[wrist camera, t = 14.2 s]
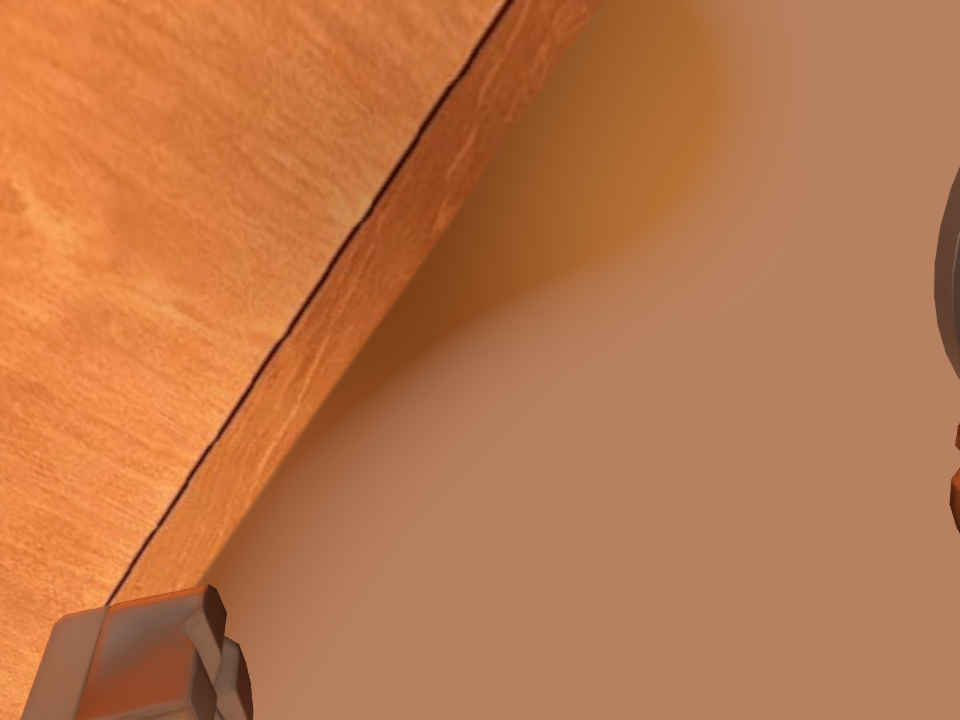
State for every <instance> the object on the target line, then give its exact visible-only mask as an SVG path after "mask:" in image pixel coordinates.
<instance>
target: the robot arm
mask: <svg viewBox="0 0 960 720" xmlns="http://www.w3.org/2000/svg"><path fill="white" fill-rule="evenodd" d="M955 445H956V447H957V448H958V449H959V451H960V424H959V425H958V430H957V437H956V444H955ZM950 506H951V510H952V514H953V517H954V520H955V524H956V527H957V529H958V531H959V533H960V468H959V470H958V471H957V472H956V474H955V475H954V476H953V477H952V479H951V492H950ZM226 615H227V612H226V610H225V608H224V605H223V604H222V601H221V598H220V596H219V594H218V591H217V589H216V588H214V587H212V586H211V585H204V586H199V587H194V588H189V589H185V590H180V591H175V592H170V593H165V594H160V595H155V596H150V597H145V598H141V599H136V600H131V601H126V602H121V603H116V604H113V605H112V606H104V607H99V608H95V609H90V610H85V611H81V612H76V613H71V614H67V615H64V616H63V617H62V618H61V619H59V620H58V621H57V622H56V623H55V625H54V626H53V629H52V631H51V634H50V637H49V640H48V643H47V645H46V648H45V651H44V654H43V657H42V660H41V662H40V665H39V668H38V671H37V674H36V676H35V679H34V682H33V685H32V688H31V690H30V693H29V696H28V699H27V702H26V704H25V707H24V710H23V713H22V716H21V719H20V720H253V703H252V692H251V682H250V678H249V674H248V670H247V666H246V662H245V659H244V656H243V654H242V651H241V648H240V646H239V644H238V643H236V642H234V641H233V640H231V639H229V638H228V637H226V636H224V633H225V624H226Z"/></svg>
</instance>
